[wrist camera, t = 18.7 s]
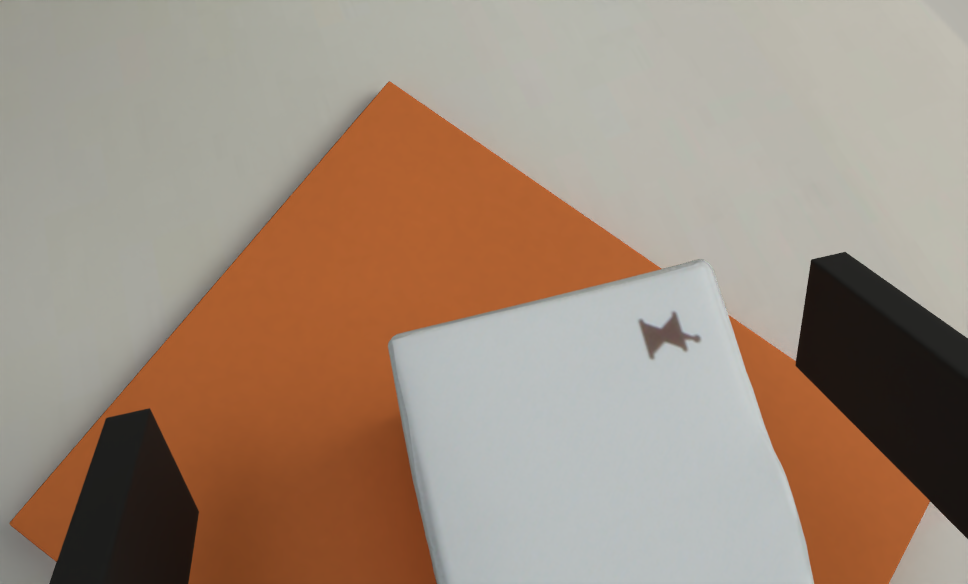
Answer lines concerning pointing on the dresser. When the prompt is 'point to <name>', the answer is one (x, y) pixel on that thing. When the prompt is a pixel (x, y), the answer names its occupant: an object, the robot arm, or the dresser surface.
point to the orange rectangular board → (369, 378)
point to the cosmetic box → (596, 442)
